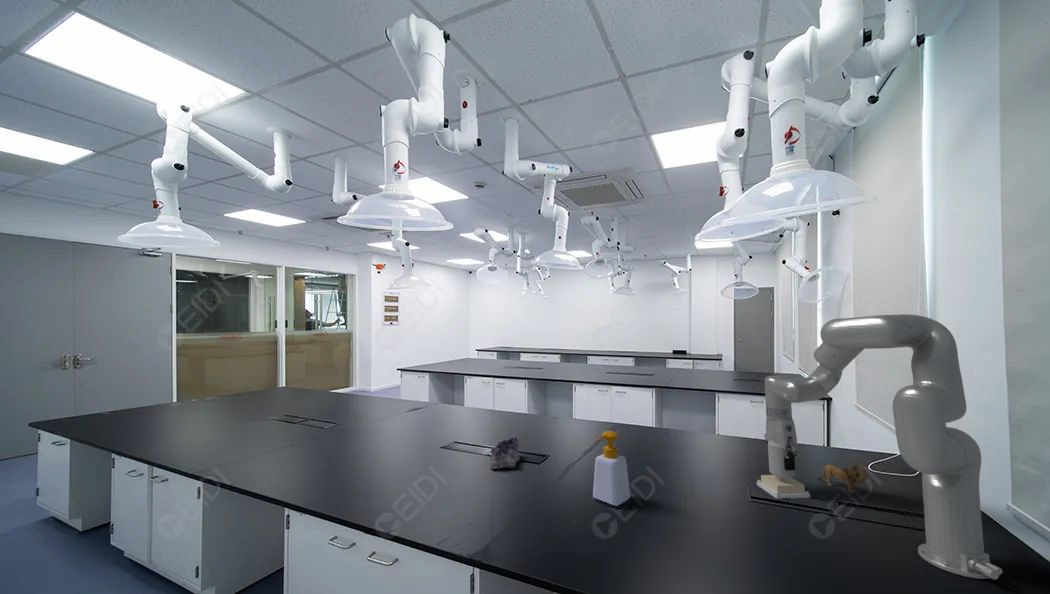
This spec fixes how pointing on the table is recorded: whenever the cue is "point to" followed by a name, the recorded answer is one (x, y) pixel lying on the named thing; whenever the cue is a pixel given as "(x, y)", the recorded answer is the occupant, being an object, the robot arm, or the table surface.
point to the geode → (505, 454)
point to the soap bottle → (611, 474)
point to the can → (778, 461)
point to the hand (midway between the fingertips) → (781, 465)
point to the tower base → (782, 487)
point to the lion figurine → (845, 475)
